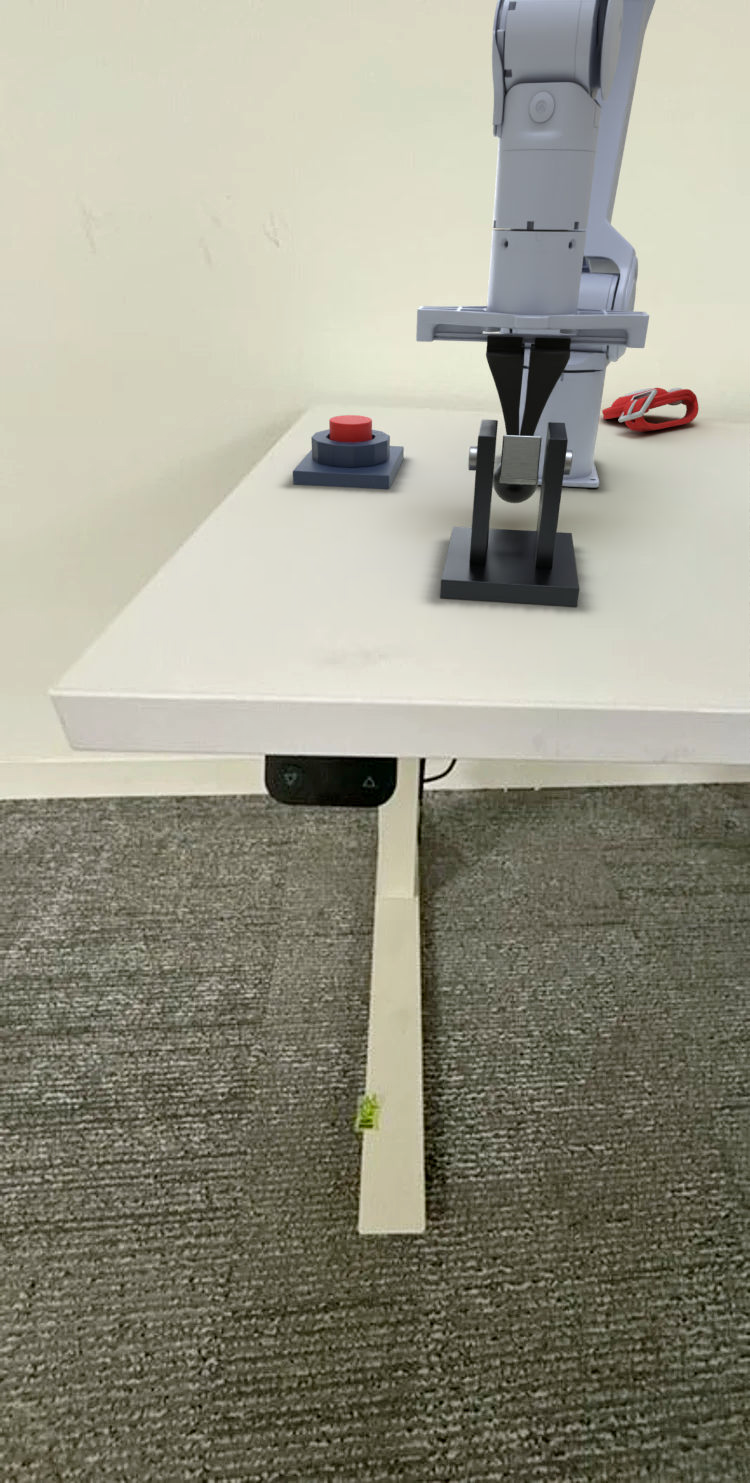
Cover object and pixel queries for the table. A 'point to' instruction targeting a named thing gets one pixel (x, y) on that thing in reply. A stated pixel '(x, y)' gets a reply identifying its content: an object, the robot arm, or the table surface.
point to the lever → (518, 468)
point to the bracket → (514, 537)
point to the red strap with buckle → (651, 407)
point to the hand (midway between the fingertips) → (517, 457)
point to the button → (350, 428)
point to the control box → (350, 462)
